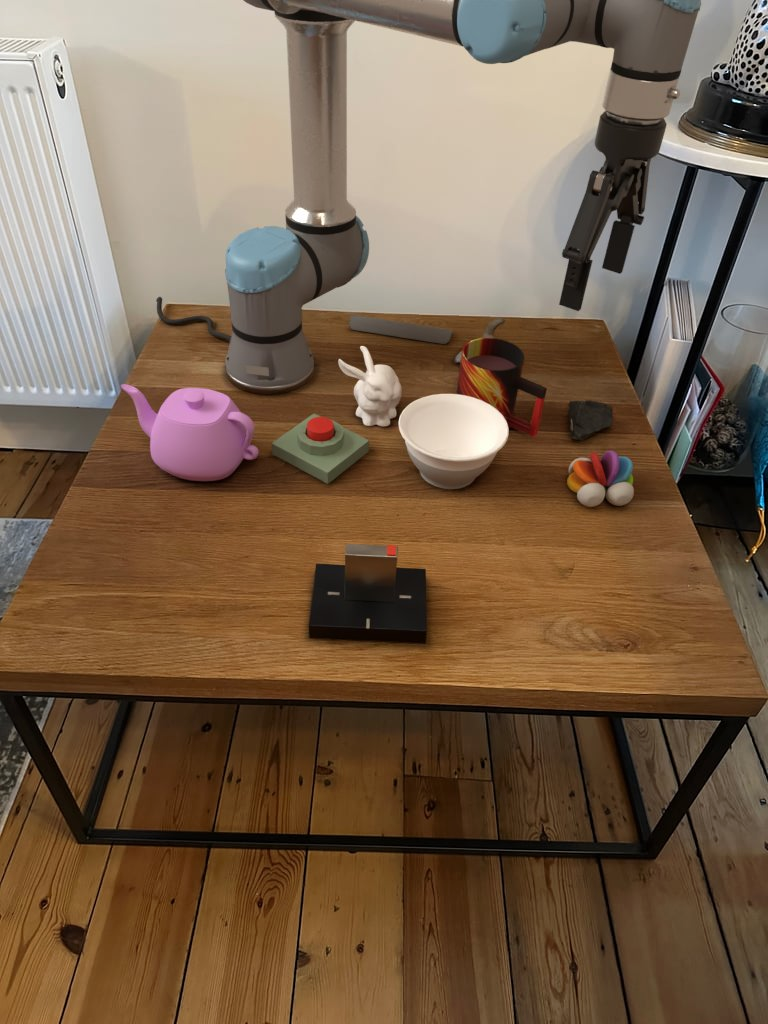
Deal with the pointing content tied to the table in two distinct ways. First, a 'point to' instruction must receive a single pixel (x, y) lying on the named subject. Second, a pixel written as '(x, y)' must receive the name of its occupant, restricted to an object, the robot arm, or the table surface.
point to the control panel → (368, 609)
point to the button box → (320, 450)
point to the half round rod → (400, 329)
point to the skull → (486, 333)
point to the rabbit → (374, 391)
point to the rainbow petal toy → (602, 479)
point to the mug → (499, 380)
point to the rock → (588, 418)
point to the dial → (370, 572)
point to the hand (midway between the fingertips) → (591, 288)
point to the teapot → (196, 433)
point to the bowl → (452, 437)
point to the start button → (320, 429)
